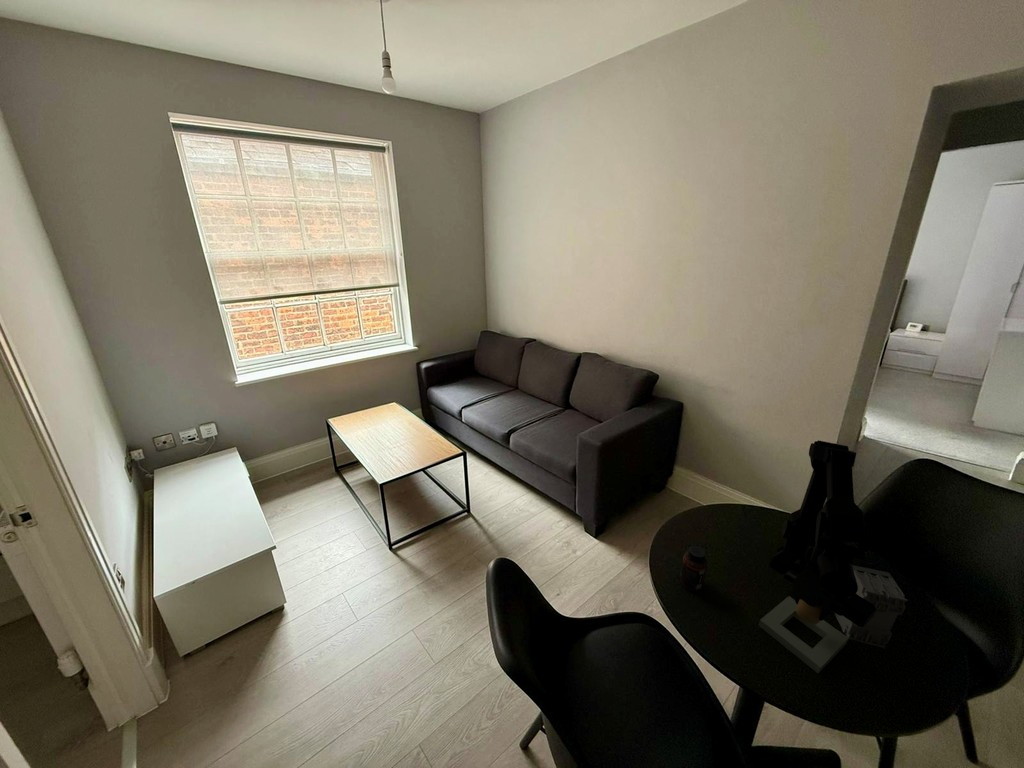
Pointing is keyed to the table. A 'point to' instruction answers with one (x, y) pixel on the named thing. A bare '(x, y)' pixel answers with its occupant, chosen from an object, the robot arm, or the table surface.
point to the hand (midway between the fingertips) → (809, 611)
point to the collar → (812, 657)
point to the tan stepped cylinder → (809, 612)
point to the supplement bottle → (693, 569)
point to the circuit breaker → (884, 598)
